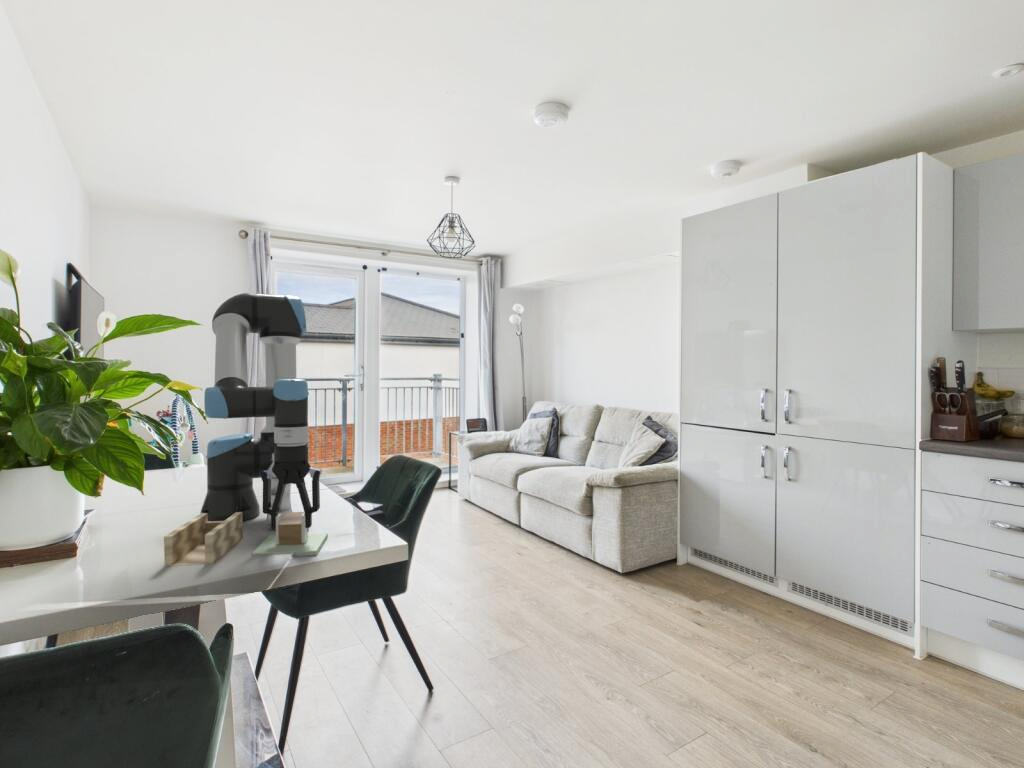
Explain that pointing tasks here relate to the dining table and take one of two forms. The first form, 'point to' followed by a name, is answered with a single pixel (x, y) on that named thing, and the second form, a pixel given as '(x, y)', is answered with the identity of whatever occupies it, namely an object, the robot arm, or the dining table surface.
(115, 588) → the dining table surface
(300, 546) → the green pad
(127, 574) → the dining table surface
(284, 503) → the plastic bottle
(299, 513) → the walnut block
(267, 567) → the dining table surface
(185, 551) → the oak rack
